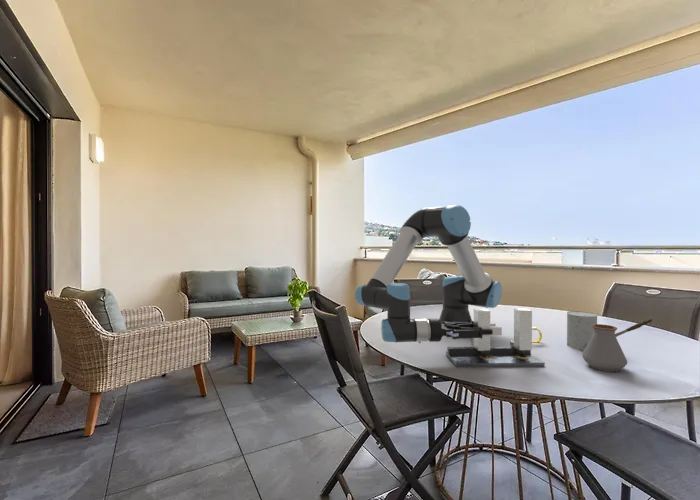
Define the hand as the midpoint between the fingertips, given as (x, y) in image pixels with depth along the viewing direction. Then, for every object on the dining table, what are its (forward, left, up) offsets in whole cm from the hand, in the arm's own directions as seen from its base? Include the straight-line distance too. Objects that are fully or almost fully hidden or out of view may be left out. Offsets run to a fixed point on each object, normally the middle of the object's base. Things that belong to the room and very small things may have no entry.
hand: (497, 329), depth 116 cm
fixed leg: (-2, +8, -9) cm, 12 cm away
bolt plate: (0, -2, -11) cm, 11 cm away
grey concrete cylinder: (-14, +37, -11) cm, 41 cm away
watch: (-20, +22, -11) cm, 32 cm away
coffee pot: (+7, +35, -11) cm, 38 cm away
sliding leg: (-2, -5, -9) cm, 10 cm away
